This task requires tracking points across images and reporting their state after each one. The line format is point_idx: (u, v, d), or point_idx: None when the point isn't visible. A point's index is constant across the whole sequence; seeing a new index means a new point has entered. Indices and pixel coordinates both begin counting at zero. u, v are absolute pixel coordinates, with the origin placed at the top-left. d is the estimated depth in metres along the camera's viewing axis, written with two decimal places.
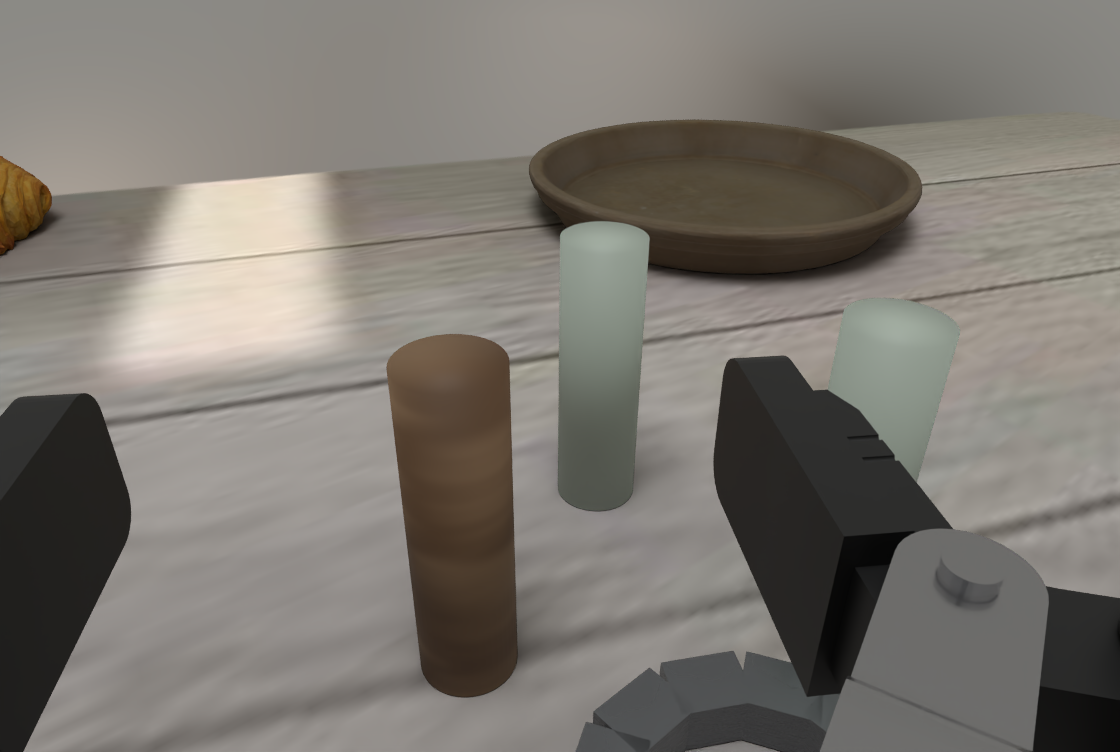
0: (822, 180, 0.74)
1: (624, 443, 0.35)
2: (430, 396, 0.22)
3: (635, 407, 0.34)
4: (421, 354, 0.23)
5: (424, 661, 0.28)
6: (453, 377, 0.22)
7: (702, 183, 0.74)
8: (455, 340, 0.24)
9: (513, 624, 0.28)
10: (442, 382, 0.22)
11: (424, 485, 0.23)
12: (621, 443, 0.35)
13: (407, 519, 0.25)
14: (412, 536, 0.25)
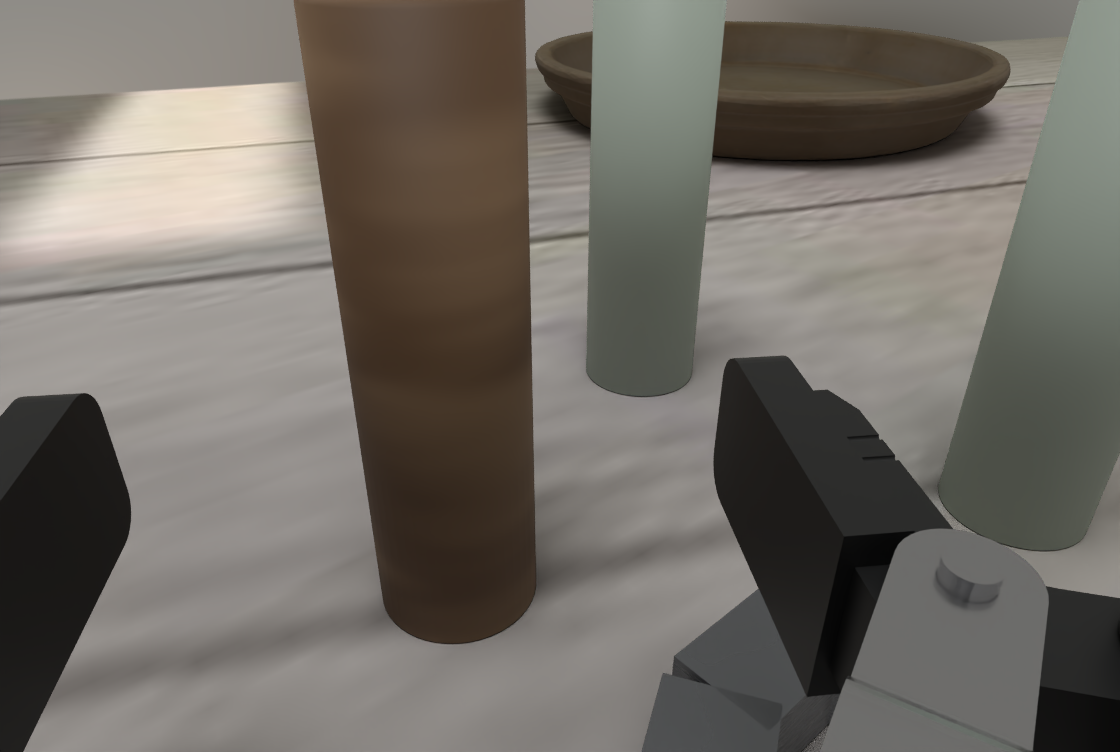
0: (877, 80, 0.63)
1: (685, 291, 0.24)
2: (372, 15, 0.11)
3: (701, 236, 0.24)
4: None
5: (385, 586, 0.17)
6: (419, 1, 0.12)
7: (737, 84, 0.63)
8: None
9: (530, 523, 0.17)
10: (396, 3, 0.11)
11: (369, 230, 0.13)
12: (681, 290, 0.24)
13: (345, 317, 0.14)
14: (354, 349, 0.14)
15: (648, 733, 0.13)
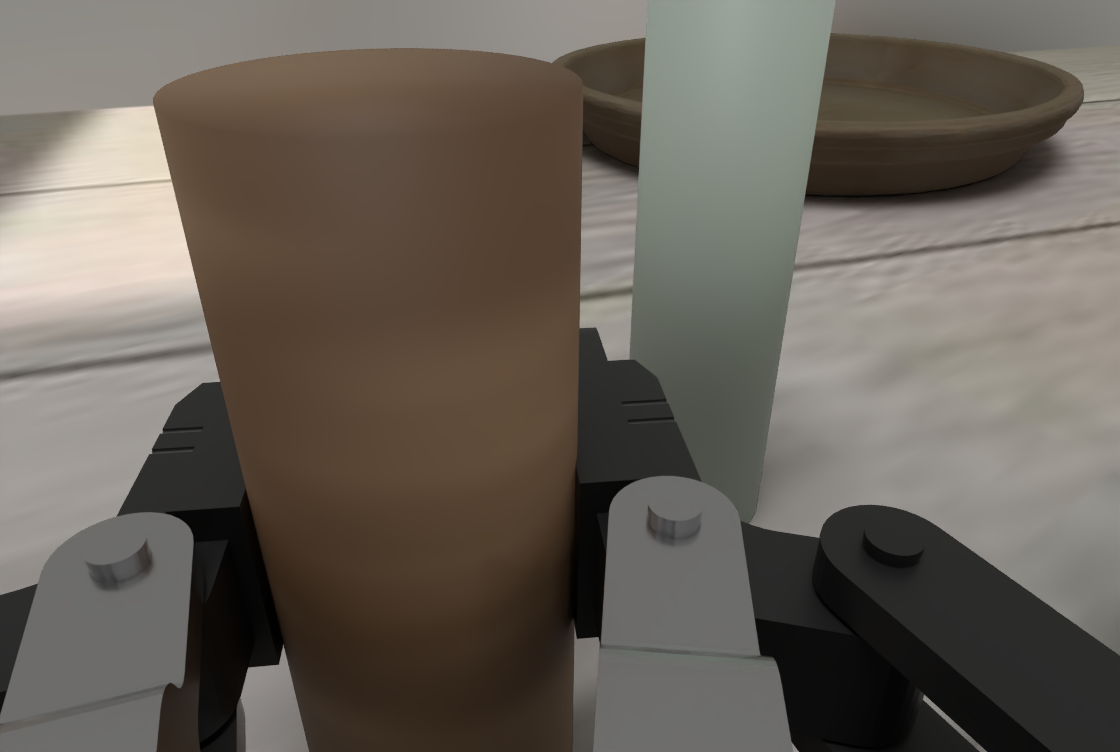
0: (922, 98, 0.58)
1: (758, 413, 0.18)
2: (289, 148, 0.05)
3: (780, 344, 0.18)
4: (292, 70, 0.07)
5: None
6: (388, 106, 0.06)
7: None
8: (409, 56, 0.08)
9: None
10: (343, 114, 0.06)
11: (303, 500, 0.07)
12: (752, 413, 0.18)
13: (274, 597, 0.09)
14: (291, 645, 0.09)
15: None
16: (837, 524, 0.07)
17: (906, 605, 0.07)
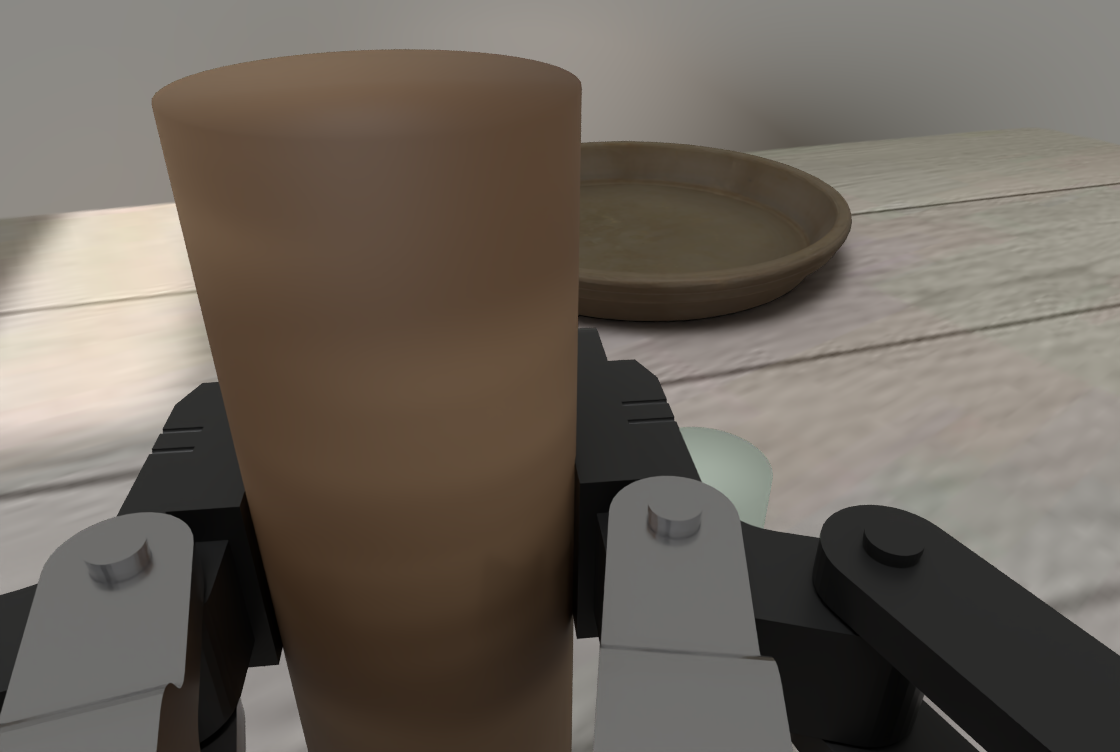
0: (754, 209, 0.69)
1: None
2: (286, 148, 0.05)
3: None
4: (291, 72, 0.07)
5: None
6: (385, 106, 0.06)
7: (626, 212, 0.68)
8: (407, 57, 0.08)
9: None
10: (341, 115, 0.06)
11: (302, 501, 0.07)
12: None
13: (273, 598, 0.09)
14: (290, 645, 0.09)
15: None
16: (837, 523, 0.07)
17: (906, 604, 0.07)
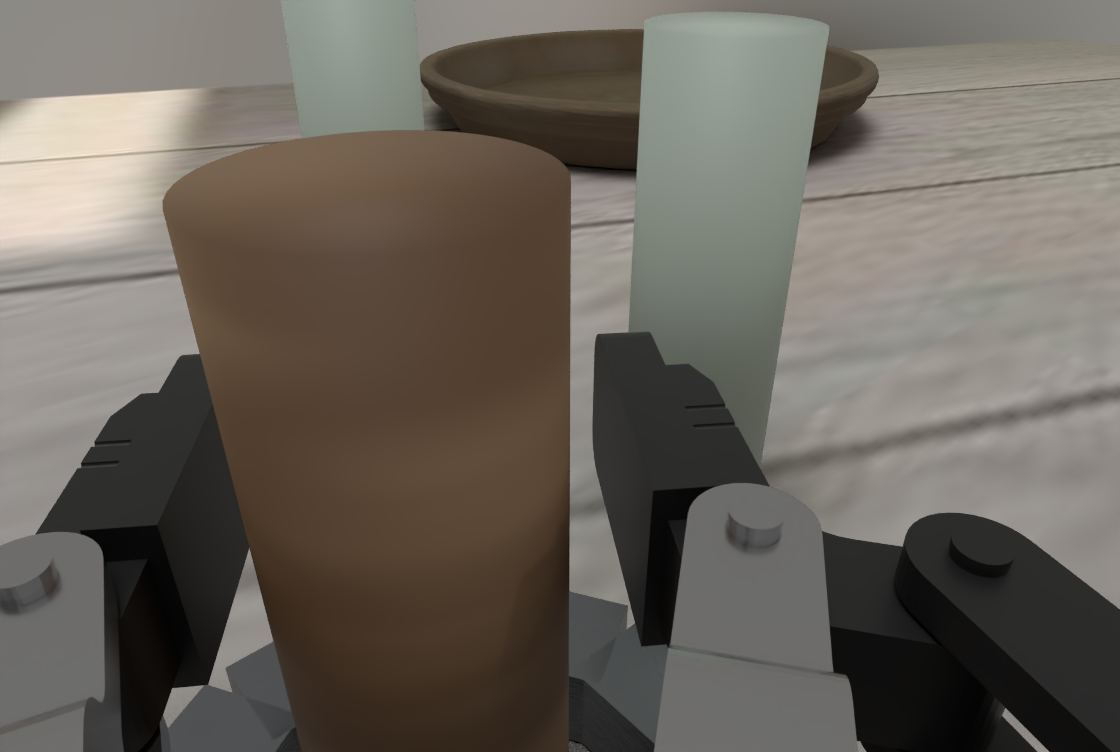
0: None
1: None
2: (291, 263, 0.06)
3: None
4: (294, 163, 0.08)
5: None
6: (384, 212, 0.06)
7: (631, 92, 0.64)
8: (405, 140, 0.08)
9: None
10: (342, 224, 0.06)
11: (305, 574, 0.07)
12: None
13: (278, 655, 0.09)
14: (295, 700, 0.09)
15: None
16: (923, 529, 0.07)
17: (990, 614, 0.07)
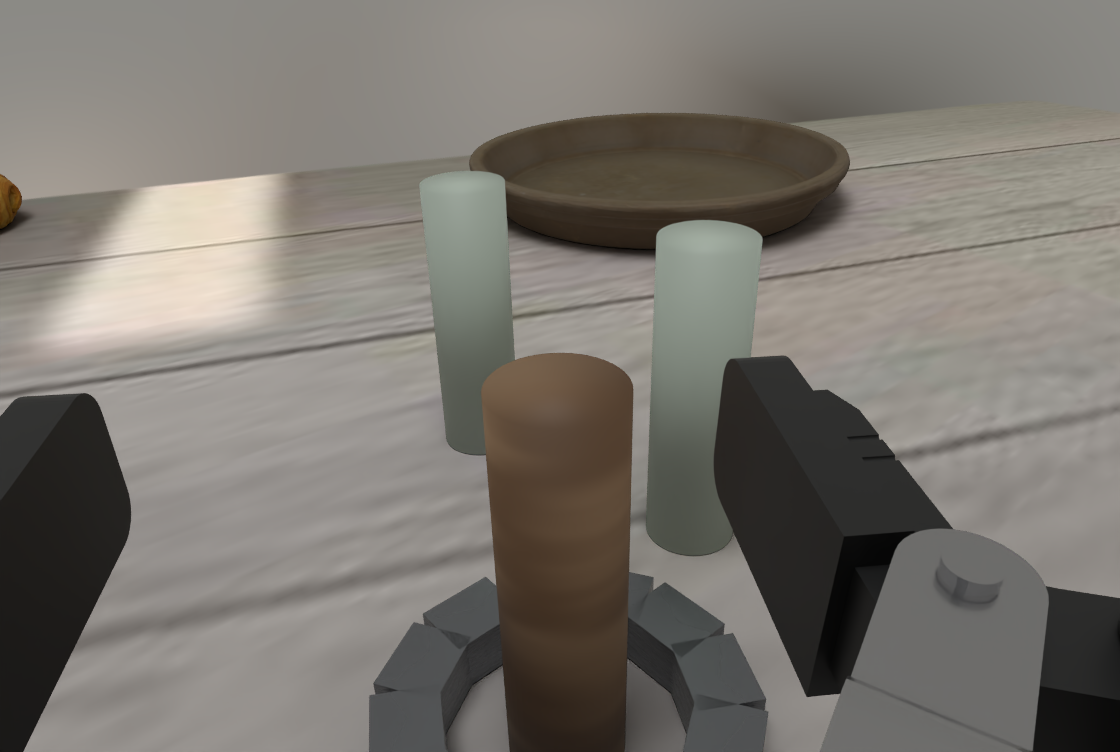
0: (763, 166, 0.75)
1: None
2: (543, 432, 0.17)
3: (508, 350, 0.36)
4: (521, 378, 0.19)
5: (516, 750, 0.23)
6: (567, 407, 0.18)
7: (645, 171, 0.75)
8: (560, 360, 0.20)
9: (624, 704, 0.23)
10: (554, 413, 0.18)
11: (529, 542, 0.19)
12: None
13: (502, 582, 0.20)
14: (508, 603, 0.20)
15: (395, 651, 0.25)
16: None
17: None
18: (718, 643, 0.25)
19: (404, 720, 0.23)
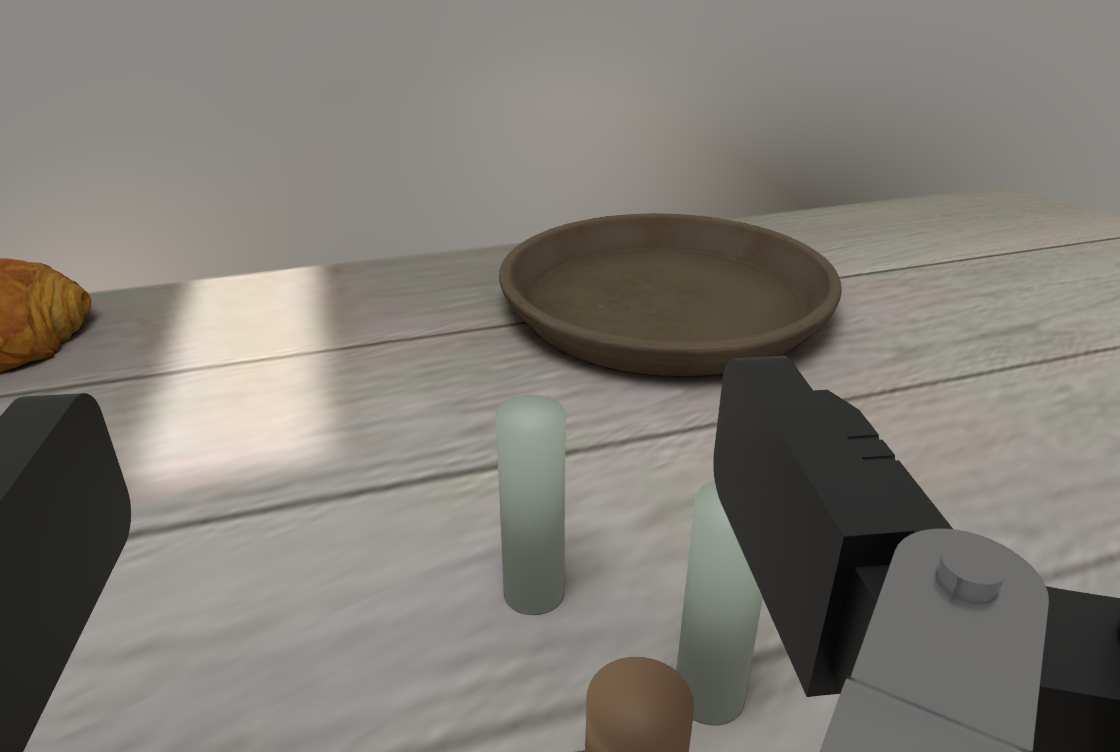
0: (763, 274, 0.83)
1: (553, 564, 0.44)
2: (635, 748, 0.25)
3: (560, 536, 0.44)
4: (613, 688, 0.27)
5: None
6: (649, 722, 0.26)
7: (656, 277, 0.83)
8: (639, 667, 0.27)
9: None
10: (642, 729, 0.25)
11: None
12: (550, 564, 0.44)
13: None
14: None
15: None
16: None
17: None
18: None
19: None
